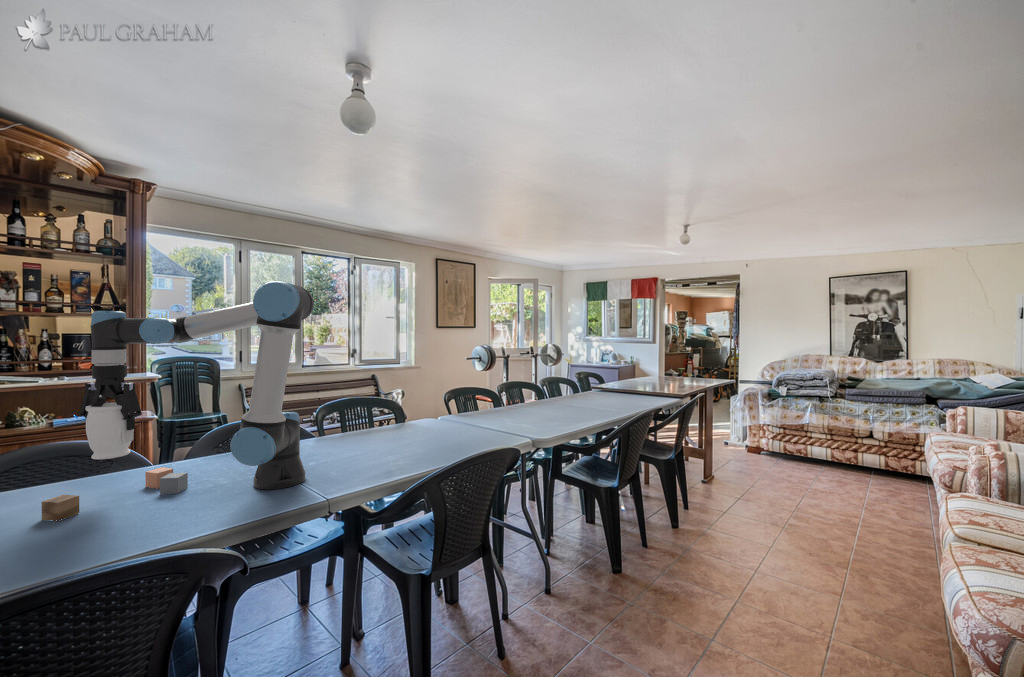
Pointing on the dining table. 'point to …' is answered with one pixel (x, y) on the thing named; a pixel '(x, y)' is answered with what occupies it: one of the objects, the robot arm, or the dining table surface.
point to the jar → (106, 431)
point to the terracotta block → (156, 476)
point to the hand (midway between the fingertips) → (111, 440)
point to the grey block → (173, 483)
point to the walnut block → (60, 507)
